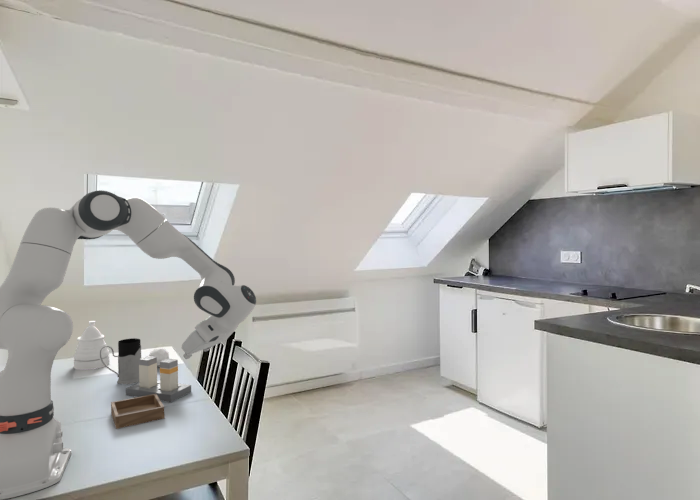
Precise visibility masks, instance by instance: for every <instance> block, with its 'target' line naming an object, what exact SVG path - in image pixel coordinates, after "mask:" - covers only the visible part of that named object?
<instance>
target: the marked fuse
mask: <svg viewBox="0 0 700 500" xmlns="http://www.w3.org/2000/svg"><path fill="white" fill-rule="evenodd" d="M178 365H179V361H178V359H175V358H169V359H166V360H163V361H161V362H160V367H159V380H160V390H162V391H168V392H171V391H173V390H175V389H177V388H178V383H179V366H178Z"/></svg>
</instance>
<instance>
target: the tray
mask: <svg viewBox="0 0 700 500" xmlns="http://www.w3.org/2000/svg"><path fill="white" fill-rule="evenodd" d="M110 412H111V413H110V414H111V417H112V420H113V424H114V427H115V429H116V430H117V429H118V430H119V429H123V428H127V427H132V426H136V425H141V424H145V423H149V422H154V421H159V420H164V419H166V418H165V406H164V404H163V401H160V399H159V397H158V396H157V394H152V395H146V396H141V397H132V398H125V399H121V400H115V401H110Z"/></svg>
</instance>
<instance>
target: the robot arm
mask: <svg viewBox="0 0 700 500" xmlns="http://www.w3.org/2000/svg"><path fill="white" fill-rule="evenodd" d="M112 231H118V232H120V233H123V234H124V235H126V236H128V237H129V239H130V240H131V241H132V242H133V243H134V244H135V245H136V246H137V247H138V248H139V249H140V250H141V251H142V252H143V253H144V254H146V255H147V256H149V257H150V258H152V259H156V260H164V259H168V258H179V259H180V260H183V261H184V262H185V263H186V264H187V265H188V266H190V267H191V268H192V269H193V270H194V271H196V272H197V273H198V274H199V276H200V278H201V281H200V283H199V285H198V286H197V288H196V290H195V291H194V294H193V301H194V302H193V303H195V306H196V307H197V308H198V309H200V310H201V311H203V312H205V313H206V314H208V315H209V316H208V318H206V319H204V320H202V321H201V322H199V323H197V324H196V326H194V329H195V330H193V331H192V332H191V333H190V334H189V335H188V336H187V338H186V339H185V340H184V341H183V343H182V344H181V349H182V351H183V356H182V357H183V358H184V359H185V360H188V359H190V358H191V357H192V356H193V354H195V353H199V352H200V351H203V352H208V351H210V349H212V348H213V347H214V346H216V345H219V344H221V343H223V342H225V341H227V340H228V339H229V338H230V336H231V335H233V333H234V332H235V331H236V330H237V329H238V327H239V325H240V324H241V323H243V322H244V321H245V320H246V319H247V317H249V316H250V314H251V313H252V311H253V310H254V309H255V308H256V305H257V298H256V297H257V296H256V295H255V292H254V291H253V290H252V289H251V288H250V287H249V286H248V285H244V284H242V285H235V283H236V282H235V281H236V279H235V275H234V273H233V271H232V270H230V269H229V268H228V267H226V266H225V265H222V264H220V263H218V262H217V261H215V260H214V259H213V258H212V257H210V256H209V255H208V253H206V252H205V251H204V250H203V249H202V248H201V247H199V245H197V244H196V243H195V242H194V241H193V240H192V239H191V238H189V237H188V236H186V235H185V234H184V233H182V232H180V231H179V230H178V229H177V228H176V227H175V226H174V225H172V224H171V223H170V221H169V220H167V218H166V217H165V216H164V215H163V214H162V213H161V212H160V211H159V210H157V209H156V208H155V207H154V206H152V205H151V204H150V203H149V202H147V201H146V200H145V199H143V198H141V197H138V196H134V197H133V196H132V197H129V198H124V197H121V196H118V195H117V194H115V193H113V192H111V191H107V190H103V189H102V190H94V191H90V192H88V193H86V194H85V195H84V196H83V197H82V198H80V199H78V201H76V202H75V204H73V205H72V206H71V208H70V209H62V208H59V207H44V208H41V209H39V210H38V211H37V212H35V214H34V215H33V217H32V219H31V220H30V221H29V224H28V225H27V226H26V230H25V231H24V234H23V236H22V238H21V241H20V243H19V245H18V249H17V251H16V254H15V257H14V260H13V262H12V265H11V268H10V269H9V272H8V274H7V276H6V278H5V279H4V281H3V283H1V285H0V350H7V354H8V355H7V359H6V363H5V364H6V365H5V366H4V369H3V370H2V371H0V500H7V499H10V498H11V499H13V498H15V497H19V496H20V497H21V496H24V495H26V494H27V495H28V494H31V493H35V492H38V491H40V490H43V489H46V488H48V487H51V486H53V485H54V484H57V483H59V482H60V481H61V479H62V476H63V474H64V472H65V470H66V467H67V466H68V462H69V461H70V458H71V456H72V449H71V448H69V447H64V443H63V438H62V437H63V431H62V424H61V421H59V420H57V419H56V418H54V414H55V412H54V411H55V407H54V401H53V400H52V394H51V393H52V391H51V385H52V383H51V382H52V381H51V380H52V379H51V378H52V377H51V376H52V368H53V364H54V361H55V359H56V356H57V354H58V353H59V351H60V350H61V349H62V348H63V347H64V346H66V344H67V343H68V342H69V341H70V339H71V338H72V335H73V331H74V323H73V319H72V317H71V316H70V314H69V313H67V311H65V310H62V309H59V308H57V307H54V306H50V305H46V304H45V305H44V304H43V305H42V303H43V302H44V300H45V299H46V298H47V297H48V296H49V295H50V294H51V293H52V292H54V291H55V290H57V289H58V288H60V286H62V285H63V282H64V279H65V276H66V273H67V270H68V267H69V263H70V261H71V257H72V253H73V251H74V246H75V244H76V242H77V240H95V239H100V238H102V237H103V236H105V235H108V234H109V233H111V232H112Z"/></svg>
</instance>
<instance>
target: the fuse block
mask: <svg viewBox="0 0 700 500" xmlns="http://www.w3.org/2000/svg"><path fill="white" fill-rule="evenodd" d="M191 393H192V385H191V384H186V383H179V382H178V388H177V389H175V390H173V391H171V392H168V391H162V390H160V379H157V385H156V386H153V387H151V388H149V389H148V388H142V387H140V385H139V382H137V383H133V384H131V385H130V386H128V387H125V396H126V397H127V396H128V397H133V398H136V397H141V396H146V395H152V394H157V396H158V397H159V399H160V401H161V402H165V403H173V402H175V401H176V400H179V399H181V398H183V397H184V396H186V395H188V394H191Z"/></svg>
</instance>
